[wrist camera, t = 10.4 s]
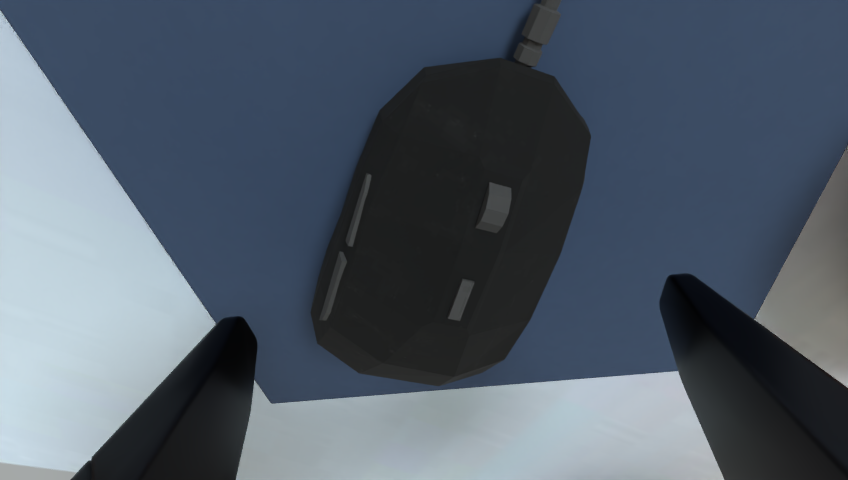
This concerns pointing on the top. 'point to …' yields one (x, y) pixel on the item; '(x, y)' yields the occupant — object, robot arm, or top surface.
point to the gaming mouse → (454, 217)
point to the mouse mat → (383, 78)
